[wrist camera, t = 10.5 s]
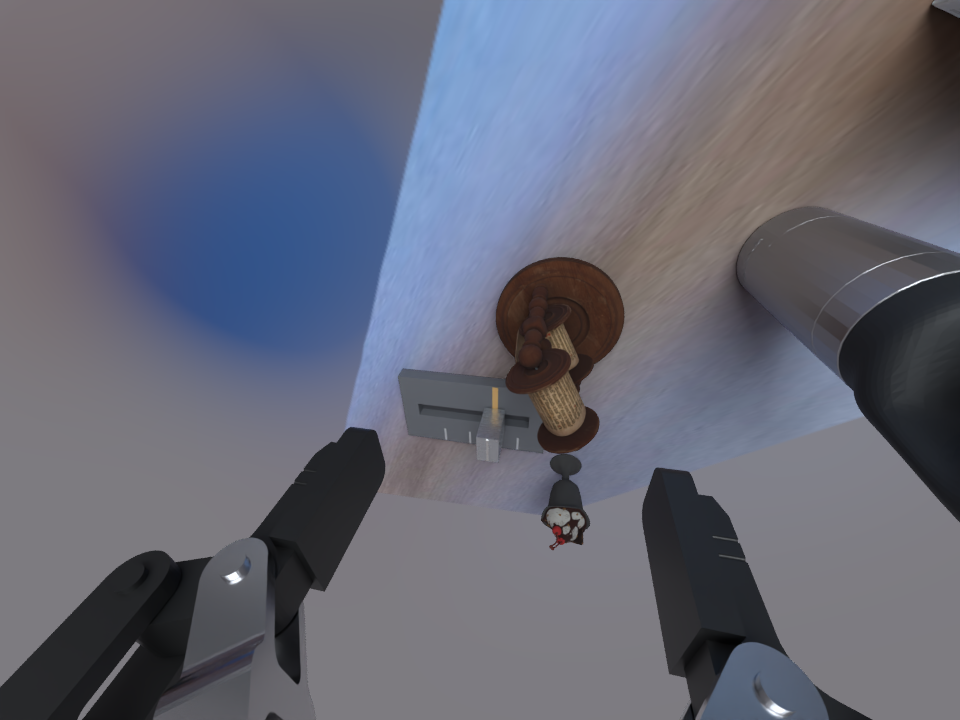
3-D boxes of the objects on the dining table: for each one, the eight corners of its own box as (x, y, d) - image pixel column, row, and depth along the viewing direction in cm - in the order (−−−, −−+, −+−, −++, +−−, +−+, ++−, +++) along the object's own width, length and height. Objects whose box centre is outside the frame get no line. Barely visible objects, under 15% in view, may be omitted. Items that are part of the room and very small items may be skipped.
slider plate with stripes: (550, 383, 50) (549, 393, 48) (543, 444, 57) (542, 454, 55) (403, 368, 54) (397, 376, 52) (413, 426, 61) (408, 435, 59)
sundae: (543, 449, 57) (536, 537, 45) (586, 450, 56) (591, 543, 44) (546, 476, 61) (540, 566, 49) (587, 479, 59) (591, 571, 47)
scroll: (478, 283, 44) (426, 377, 28) (597, 230, 38) (619, 311, 22) (527, 375, 50) (508, 496, 34) (637, 341, 44) (677, 470, 28)
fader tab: (506, 403, 53) (498, 440, 46) (505, 425, 55) (498, 463, 49) (486, 401, 53) (475, 437, 47) (486, 423, 56) (476, 460, 49)
